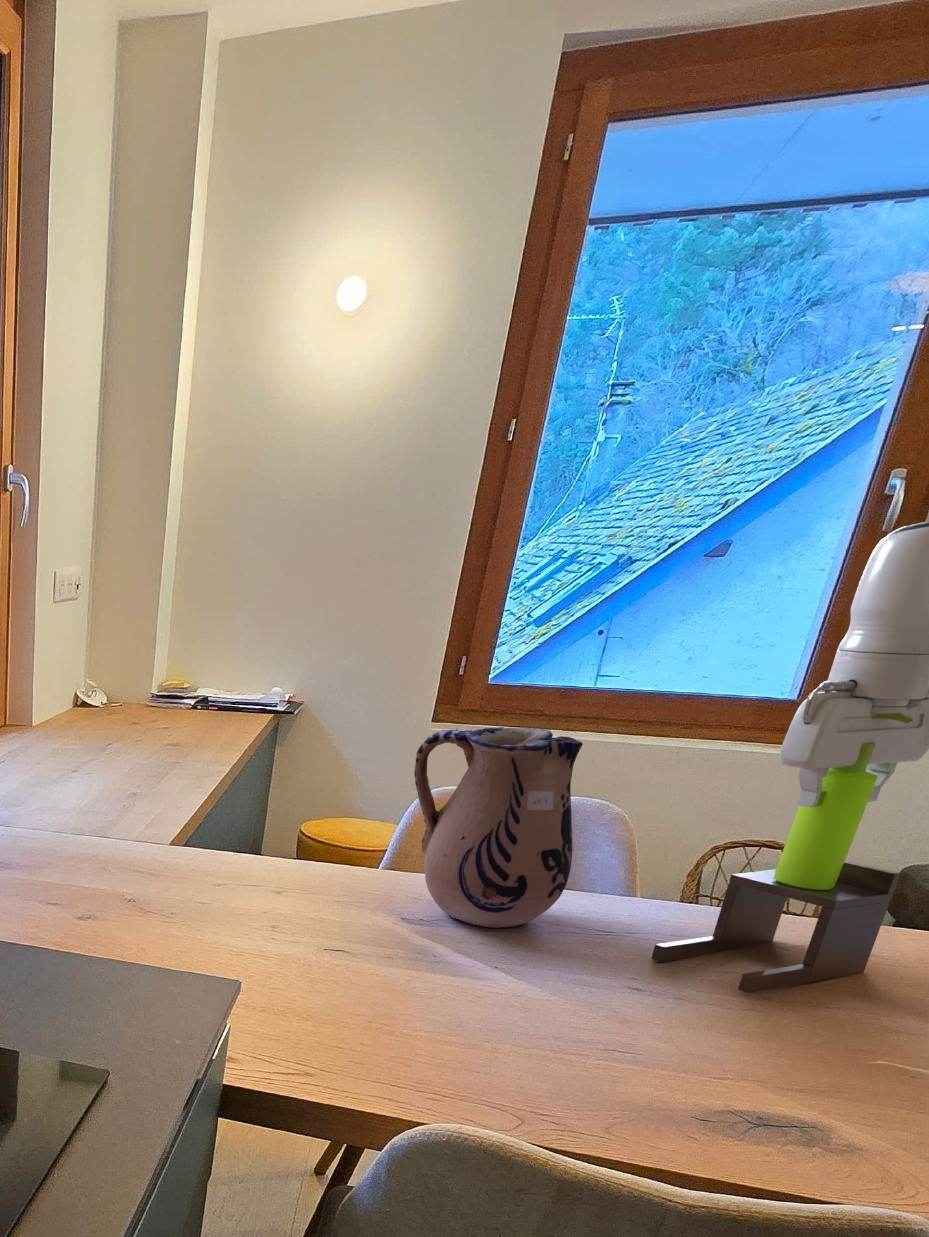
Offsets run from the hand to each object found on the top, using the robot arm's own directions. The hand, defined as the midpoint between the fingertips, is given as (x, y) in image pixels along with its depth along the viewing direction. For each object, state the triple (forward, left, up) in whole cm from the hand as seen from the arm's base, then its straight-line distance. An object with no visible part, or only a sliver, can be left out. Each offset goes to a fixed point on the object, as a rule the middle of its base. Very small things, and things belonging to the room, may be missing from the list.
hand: (836, 803), depth 120 cm
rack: (0, +5, -20) cm, 20 cm away
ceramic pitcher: (+27, +23, -20) cm, 41 cm away
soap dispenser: (0, +1, -10) cm, 10 cm away
